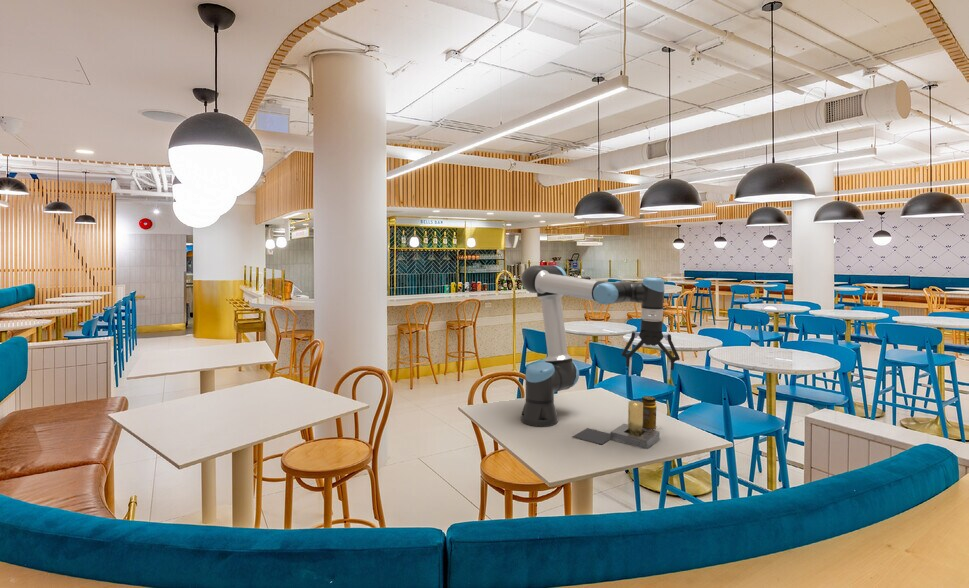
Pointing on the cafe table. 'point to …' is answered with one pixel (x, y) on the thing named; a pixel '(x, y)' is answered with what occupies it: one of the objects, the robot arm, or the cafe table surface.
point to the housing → (635, 437)
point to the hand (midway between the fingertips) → (649, 377)
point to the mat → (593, 436)
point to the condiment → (649, 412)
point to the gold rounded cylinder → (635, 417)
